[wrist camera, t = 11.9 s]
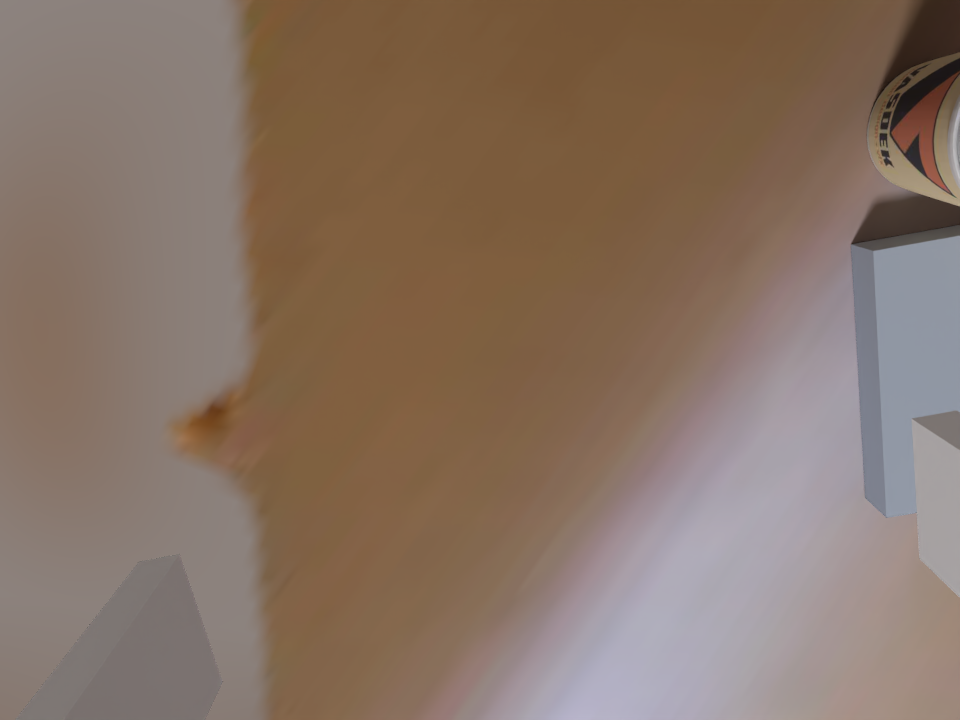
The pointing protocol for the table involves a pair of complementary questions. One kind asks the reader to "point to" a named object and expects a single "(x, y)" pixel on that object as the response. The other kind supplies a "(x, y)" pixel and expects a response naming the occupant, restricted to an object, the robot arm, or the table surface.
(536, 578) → the table surface
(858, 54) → the table surface
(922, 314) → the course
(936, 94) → the coffee cup
